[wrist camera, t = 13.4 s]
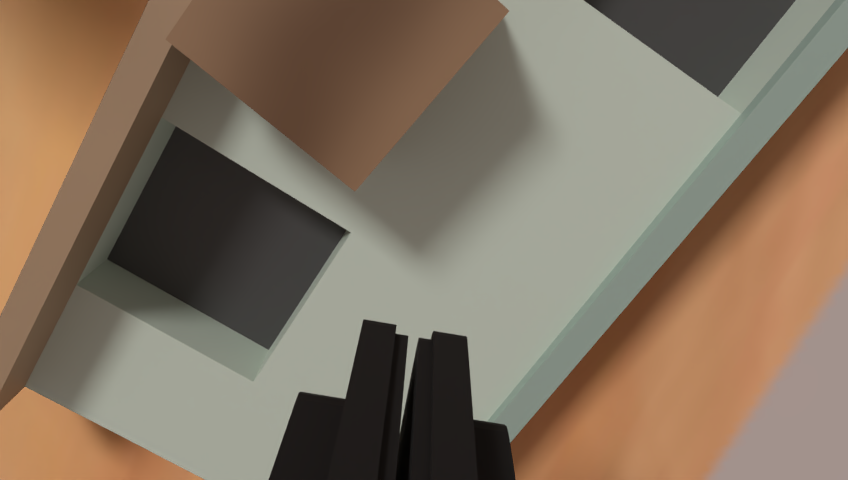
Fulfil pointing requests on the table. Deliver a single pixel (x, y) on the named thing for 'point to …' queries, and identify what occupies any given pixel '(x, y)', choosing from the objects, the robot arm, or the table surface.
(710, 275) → the table surface
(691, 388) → the table surface
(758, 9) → the board
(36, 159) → the table surface
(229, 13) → the walnut block
